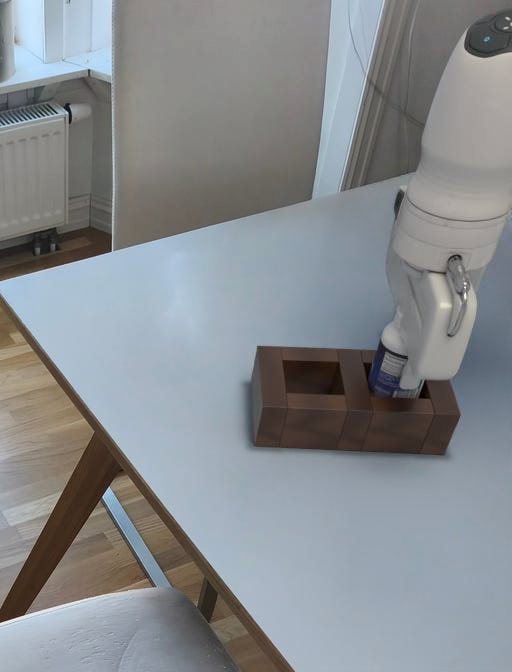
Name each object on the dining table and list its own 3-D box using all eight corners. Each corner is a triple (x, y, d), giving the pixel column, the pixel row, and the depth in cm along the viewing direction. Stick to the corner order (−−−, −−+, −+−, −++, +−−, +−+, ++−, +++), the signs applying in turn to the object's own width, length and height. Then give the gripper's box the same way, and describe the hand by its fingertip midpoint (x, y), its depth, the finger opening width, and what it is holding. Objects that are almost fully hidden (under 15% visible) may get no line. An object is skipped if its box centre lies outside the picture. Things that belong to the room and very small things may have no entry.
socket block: (426, 391, 97) (441, 351, 94) (444, 454, 91) (461, 414, 87) (249, 384, 99) (257, 345, 95) (254, 446, 92) (262, 406, 89)
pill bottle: (375, 374, 95) (402, 289, 87) (424, 390, 92) (456, 305, 85) (355, 400, 92) (381, 314, 84) (406, 417, 90) (437, 331, 82)
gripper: (510, 293, 72) (452, 430, 83) (462, 180, 85) (417, 312, 95) (430, 291, 72) (383, 427, 83) (394, 179, 85) (358, 310, 96)
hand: (401, 365), depth 89 cm, fingers closed on pill bottle, 5 cm apart
